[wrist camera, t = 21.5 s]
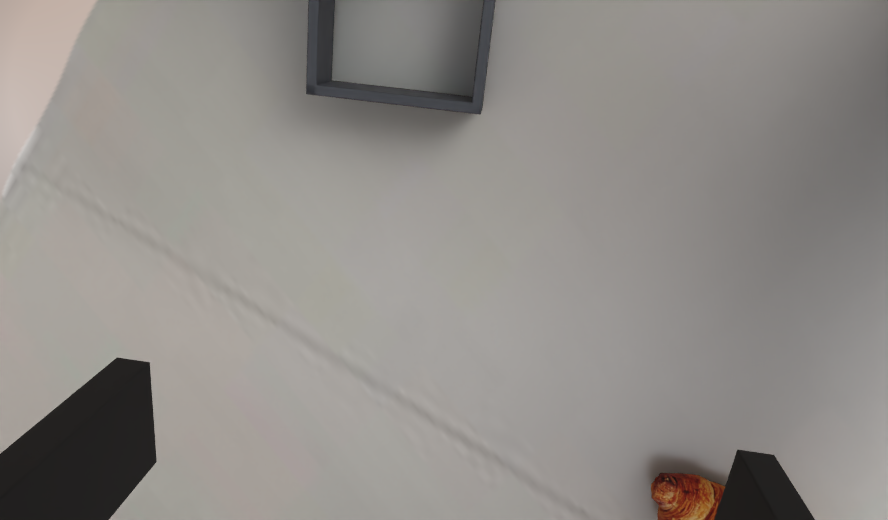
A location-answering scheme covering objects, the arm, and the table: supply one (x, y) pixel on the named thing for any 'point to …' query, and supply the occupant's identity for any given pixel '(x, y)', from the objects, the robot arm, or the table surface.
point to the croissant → (686, 497)
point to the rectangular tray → (324, 86)
